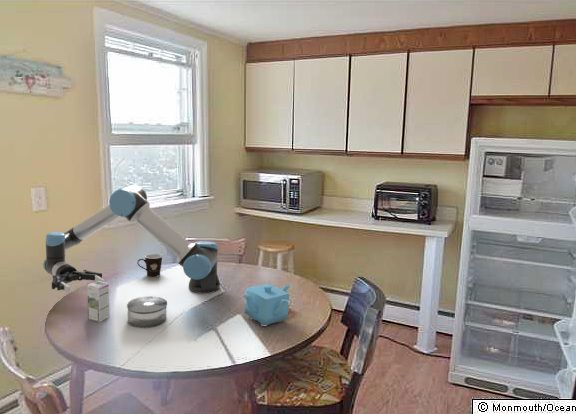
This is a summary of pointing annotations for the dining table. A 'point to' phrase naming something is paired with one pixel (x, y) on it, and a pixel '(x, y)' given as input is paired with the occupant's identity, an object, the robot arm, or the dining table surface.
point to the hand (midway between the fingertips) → (86, 286)
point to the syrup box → (98, 301)
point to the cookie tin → (147, 312)
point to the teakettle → (267, 303)
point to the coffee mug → (152, 264)
